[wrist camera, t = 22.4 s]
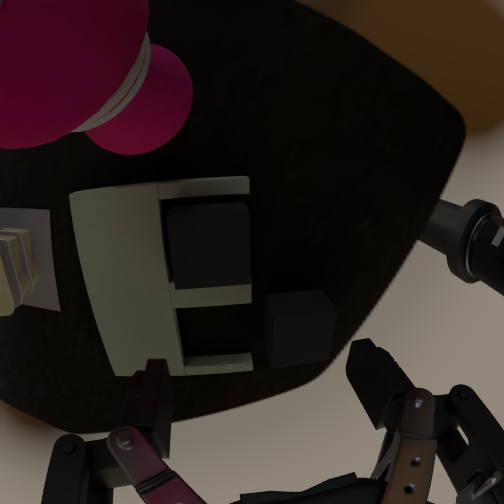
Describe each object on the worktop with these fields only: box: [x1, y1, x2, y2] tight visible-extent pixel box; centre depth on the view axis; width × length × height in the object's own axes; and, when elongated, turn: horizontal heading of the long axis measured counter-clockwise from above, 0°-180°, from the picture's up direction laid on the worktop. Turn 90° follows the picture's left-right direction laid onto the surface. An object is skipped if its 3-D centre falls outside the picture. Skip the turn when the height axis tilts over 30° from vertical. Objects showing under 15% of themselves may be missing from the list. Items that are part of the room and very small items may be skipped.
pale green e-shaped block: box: [69, 176, 253, 376], centre depth 23 cm, size 14×18×2 cm
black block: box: [264, 289, 337, 369], centre depth 25 cm, size 5×5×4 cm
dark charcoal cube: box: [166, 199, 251, 290], centre depth 21 cm, size 5×5×4 cm
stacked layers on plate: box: [0, 208, 61, 316], centre depth 18 cm, size 10×9×6 cm
